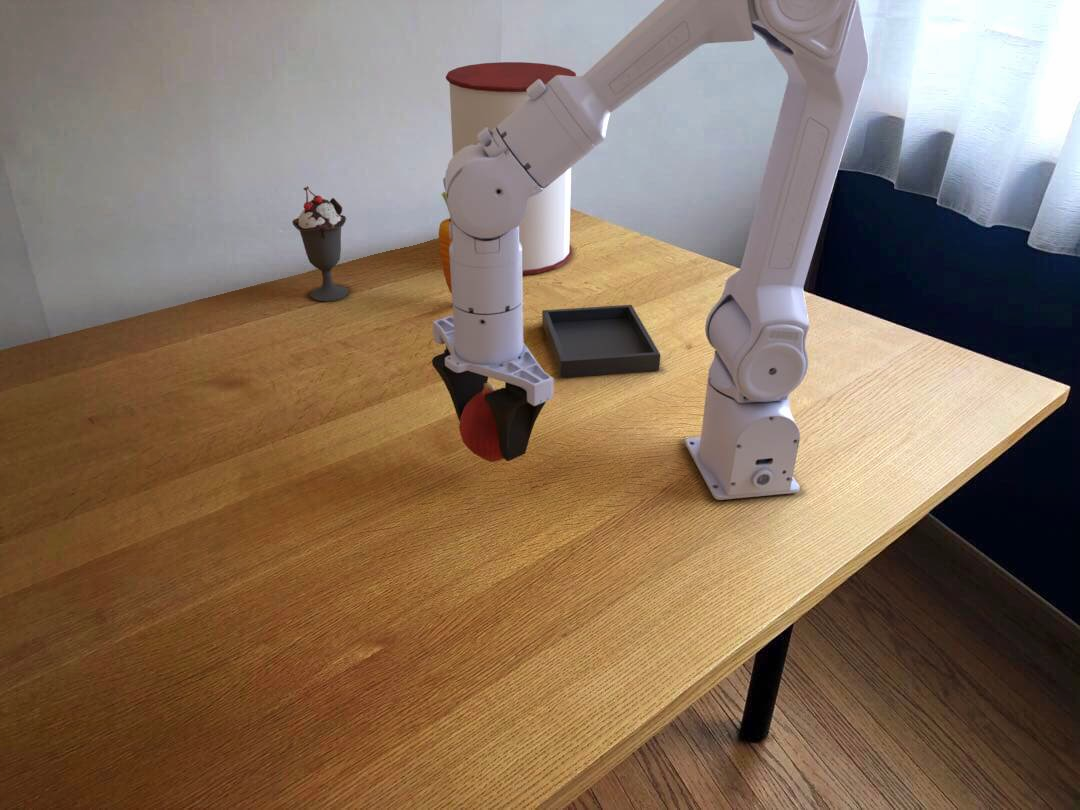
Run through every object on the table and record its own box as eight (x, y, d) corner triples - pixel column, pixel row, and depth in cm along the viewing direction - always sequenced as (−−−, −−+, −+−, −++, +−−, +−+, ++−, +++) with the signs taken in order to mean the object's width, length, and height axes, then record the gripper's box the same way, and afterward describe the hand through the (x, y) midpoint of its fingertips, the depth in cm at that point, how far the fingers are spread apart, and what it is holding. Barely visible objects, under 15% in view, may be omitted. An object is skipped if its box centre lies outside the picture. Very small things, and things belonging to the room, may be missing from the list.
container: (581, 272, 120) (587, 85, 107) (458, 279, 118) (448, 89, 105) (562, 230, 135) (565, 60, 122) (451, 234, 133) (443, 63, 120)
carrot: (436, 301, 112) (429, 187, 104) (472, 294, 114) (467, 182, 106) (449, 316, 108) (443, 199, 100) (486, 309, 110) (482, 194, 102)
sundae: (304, 307, 110) (287, 192, 102) (302, 286, 116) (285, 176, 108) (356, 301, 112) (343, 188, 104) (352, 281, 117) (339, 172, 109)
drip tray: (659, 370, 96) (660, 354, 95) (560, 378, 95) (561, 361, 94) (630, 319, 107) (631, 304, 106) (542, 325, 106) (542, 310, 105)
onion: (529, 444, 80) (528, 369, 76) (521, 481, 75) (520, 402, 71) (467, 440, 80) (463, 365, 76) (456, 477, 76) (451, 399, 71)
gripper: (398, 284, 72) (411, 420, 79) (501, 346, 63) (505, 495, 70) (467, 264, 76) (473, 395, 83) (574, 319, 66) (571, 463, 73)
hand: (492, 439), depth 77 cm, fingers closed on onion, 6 cm apart
